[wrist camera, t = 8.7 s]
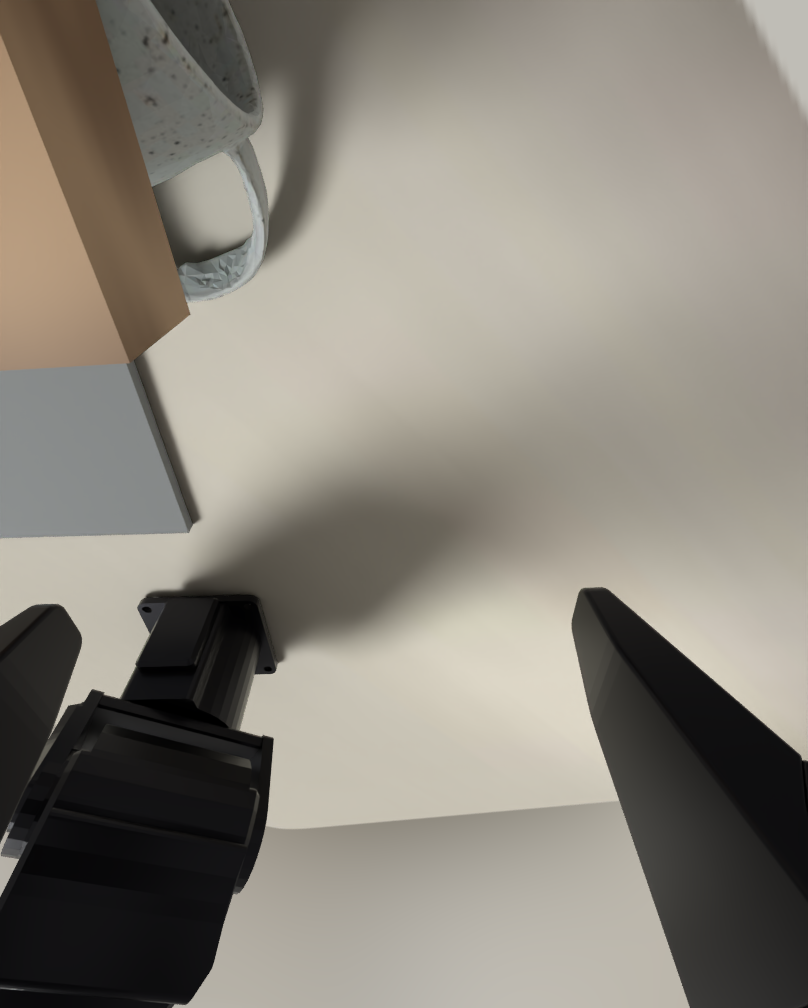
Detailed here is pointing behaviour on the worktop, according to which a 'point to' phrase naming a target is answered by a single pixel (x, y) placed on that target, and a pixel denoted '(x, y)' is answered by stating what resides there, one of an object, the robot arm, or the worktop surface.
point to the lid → (74, 200)
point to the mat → (83, 456)
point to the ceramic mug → (192, 110)
